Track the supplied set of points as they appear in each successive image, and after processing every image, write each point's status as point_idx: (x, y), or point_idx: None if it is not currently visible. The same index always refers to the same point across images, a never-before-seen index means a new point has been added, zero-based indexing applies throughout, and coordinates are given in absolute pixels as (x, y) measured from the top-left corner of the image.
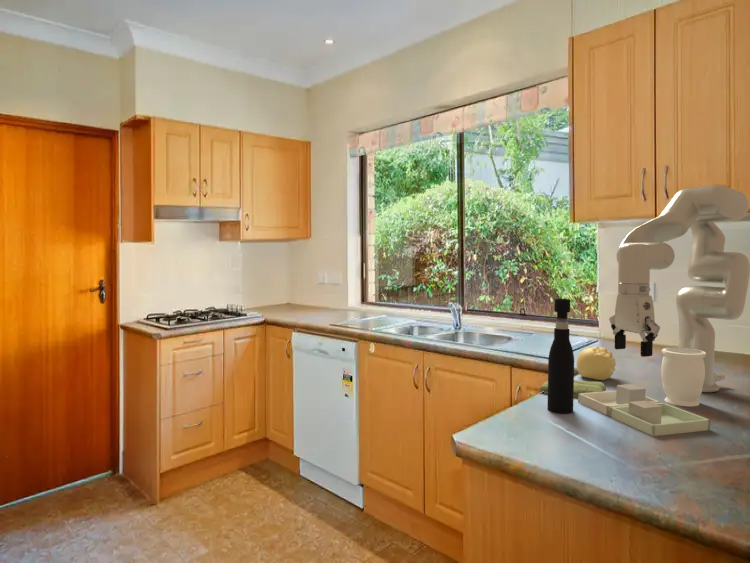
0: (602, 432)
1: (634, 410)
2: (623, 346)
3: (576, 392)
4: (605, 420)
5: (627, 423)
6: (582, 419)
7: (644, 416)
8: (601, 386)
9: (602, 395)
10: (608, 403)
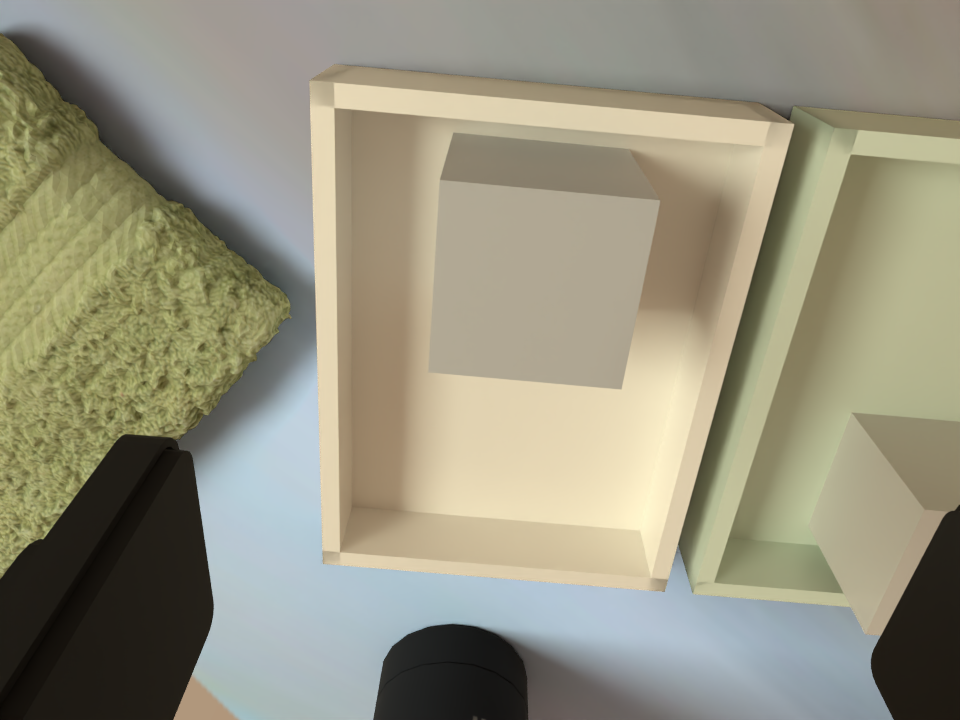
0: (807, 690)
1: None
2: (175, 523)
3: None
4: (678, 569)
5: None
6: (604, 652)
7: None
8: (54, 162)
9: (344, 369)
10: None
